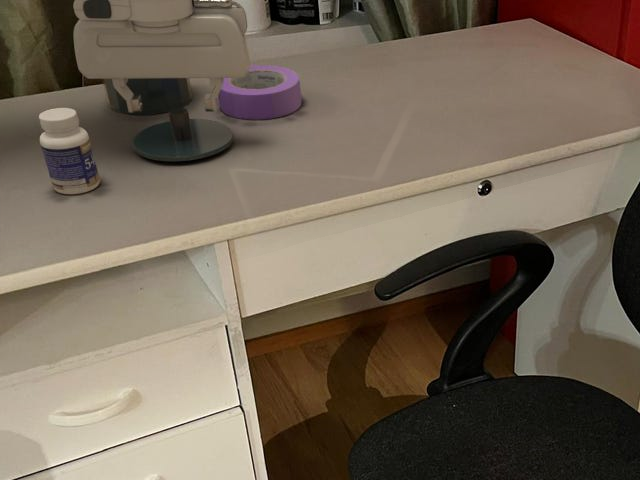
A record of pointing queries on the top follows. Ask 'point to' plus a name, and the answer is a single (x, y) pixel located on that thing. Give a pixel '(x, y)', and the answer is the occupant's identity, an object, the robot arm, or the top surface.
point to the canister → (151, 94)
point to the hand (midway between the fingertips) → (174, 110)
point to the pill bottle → (67, 152)
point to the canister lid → (182, 138)
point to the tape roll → (261, 93)
